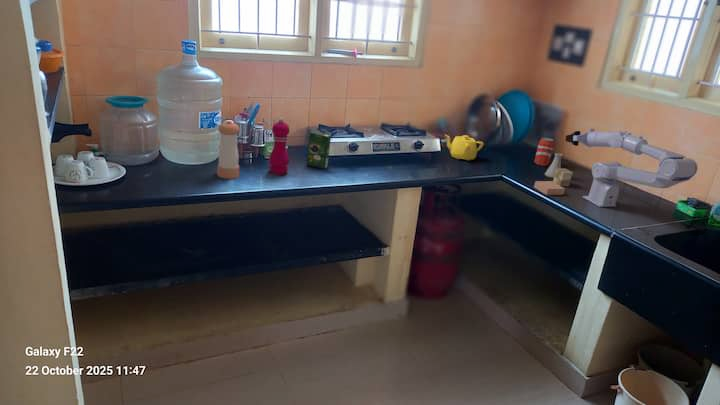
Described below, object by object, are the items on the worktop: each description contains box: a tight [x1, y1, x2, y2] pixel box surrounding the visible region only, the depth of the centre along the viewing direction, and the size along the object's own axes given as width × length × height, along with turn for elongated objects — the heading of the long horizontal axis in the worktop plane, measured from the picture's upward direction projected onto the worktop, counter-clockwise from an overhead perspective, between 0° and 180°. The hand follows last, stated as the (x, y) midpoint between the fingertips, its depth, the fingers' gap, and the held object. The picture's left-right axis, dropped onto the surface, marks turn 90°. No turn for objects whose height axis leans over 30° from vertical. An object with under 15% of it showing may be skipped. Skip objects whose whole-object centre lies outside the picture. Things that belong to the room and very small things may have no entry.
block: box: [552, 168, 574, 187], centre depth 211 cm, size 4×4×6 cm
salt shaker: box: [216, 120, 241, 180], centre depth 175 cm, size 7×7×19 cm
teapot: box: [444, 134, 485, 162], centre depth 229 cm, size 14×13×10 cm
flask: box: [544, 152, 564, 179], centre depth 219 cm, size 7×7×10 cm
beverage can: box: [533, 137, 555, 167], centre depth 233 cm, size 6×6×12 cm
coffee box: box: [306, 130, 332, 170], centre depth 195 cm, size 8×3×13 cm, turn 70°
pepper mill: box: [268, 117, 290, 176], centre depth 184 cm, size 7×7×20 cm
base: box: [533, 180, 566, 196], centre depth 202 cm, size 8×8×2 cm
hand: (573, 138), depth 208 cm, fingers open, 7 cm apart
